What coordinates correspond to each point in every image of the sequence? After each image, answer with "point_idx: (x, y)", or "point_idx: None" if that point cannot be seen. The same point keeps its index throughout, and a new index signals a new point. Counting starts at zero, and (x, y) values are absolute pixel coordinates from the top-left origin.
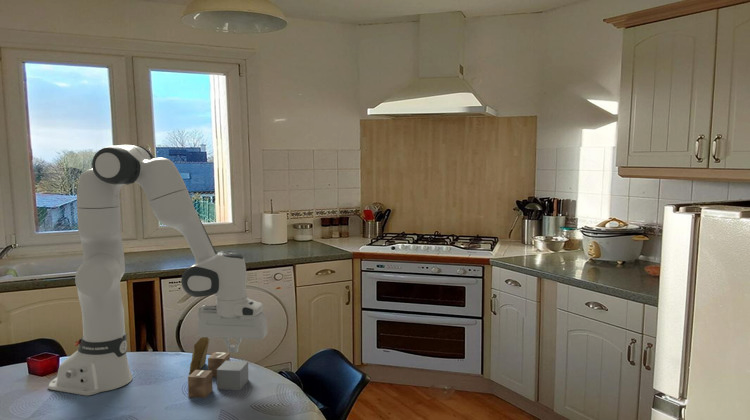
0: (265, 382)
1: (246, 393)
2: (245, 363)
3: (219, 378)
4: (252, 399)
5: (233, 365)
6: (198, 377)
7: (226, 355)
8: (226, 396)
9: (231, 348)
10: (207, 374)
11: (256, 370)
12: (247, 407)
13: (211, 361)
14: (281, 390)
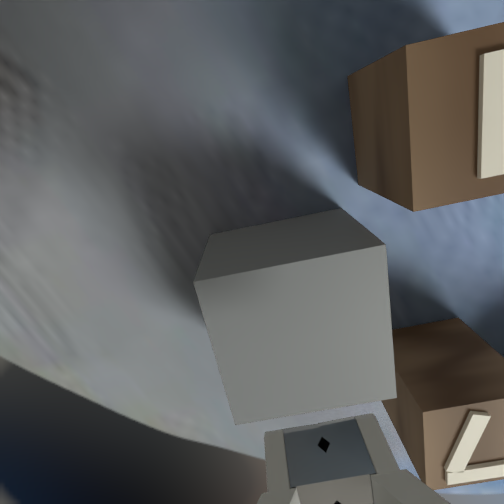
0: (144, 348)
1: (155, 211)
2: (233, 397)
3: (343, 228)
4: (75, 155)
5: (297, 346)
6: (473, 29)
7: (428, 457)
8: (238, 139)
9: (332, 460)
10: (416, 123)
11: (261, 435)
12: (29, 45)
13: (498, 379)
14: (11, 299)
